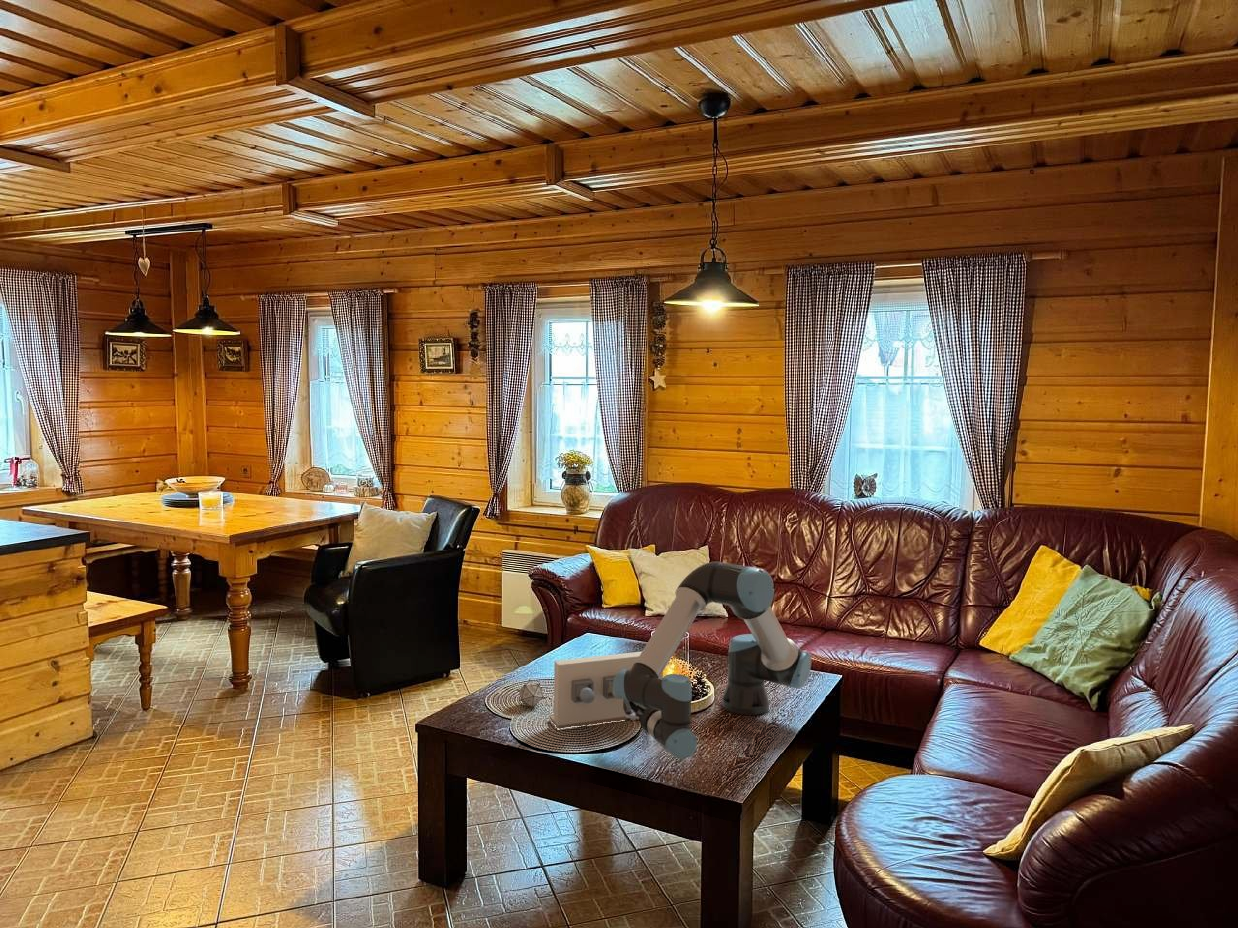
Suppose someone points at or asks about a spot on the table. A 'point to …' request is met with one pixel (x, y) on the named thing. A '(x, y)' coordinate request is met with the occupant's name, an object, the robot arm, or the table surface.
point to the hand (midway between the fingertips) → (624, 692)
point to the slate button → (586, 695)
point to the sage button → (614, 694)
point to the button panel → (597, 678)
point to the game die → (531, 694)
